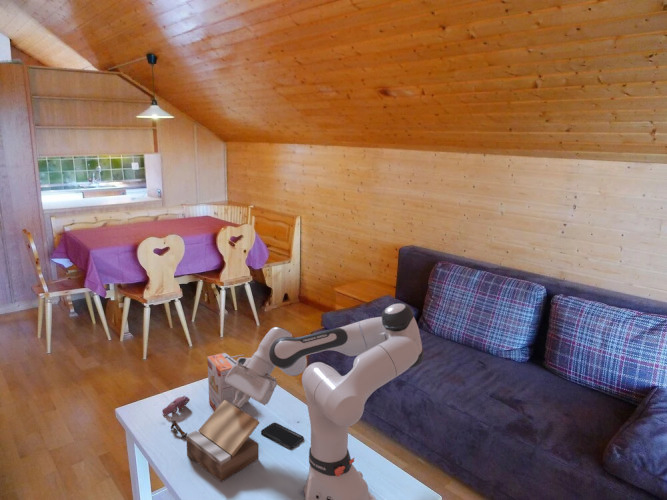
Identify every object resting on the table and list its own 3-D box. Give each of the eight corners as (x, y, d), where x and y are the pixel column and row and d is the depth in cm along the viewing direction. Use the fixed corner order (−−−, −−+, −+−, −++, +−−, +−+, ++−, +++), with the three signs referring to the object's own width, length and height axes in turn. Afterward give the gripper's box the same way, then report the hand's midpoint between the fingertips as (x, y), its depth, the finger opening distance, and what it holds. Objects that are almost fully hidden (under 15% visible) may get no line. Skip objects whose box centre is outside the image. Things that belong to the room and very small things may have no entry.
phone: (274, 421, 182) (305, 437, 173) (274, 424, 182) (305, 440, 173) (259, 431, 175) (290, 448, 167) (259, 434, 176) (290, 451, 167)
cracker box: (208, 403, 193) (206, 355, 188) (222, 399, 196) (221, 352, 191) (220, 421, 182) (219, 370, 177) (236, 417, 185) (235, 367, 180)
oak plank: (259, 422, 160) (257, 420, 159) (233, 456, 153) (230, 454, 152) (226, 402, 171) (224, 399, 170) (200, 432, 165) (198, 430, 164)
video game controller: (168, 421, 183) (173, 409, 180) (160, 412, 185) (165, 400, 182) (188, 409, 192) (193, 397, 189) (180, 401, 193) (185, 389, 190)
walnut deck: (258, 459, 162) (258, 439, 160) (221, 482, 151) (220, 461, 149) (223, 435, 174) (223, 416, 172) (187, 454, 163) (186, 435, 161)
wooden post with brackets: (172, 425, 177) (174, 417, 175) (184, 440, 174) (187, 432, 172) (167, 427, 176) (170, 419, 174) (180, 443, 172) (183, 435, 170)
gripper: (284, 383, 163) (261, 421, 158) (245, 363, 176) (223, 397, 171) (274, 376, 159) (251, 415, 154) (235, 356, 172) (212, 391, 167)
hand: (236, 405), depth 163 cm, fingers closed
